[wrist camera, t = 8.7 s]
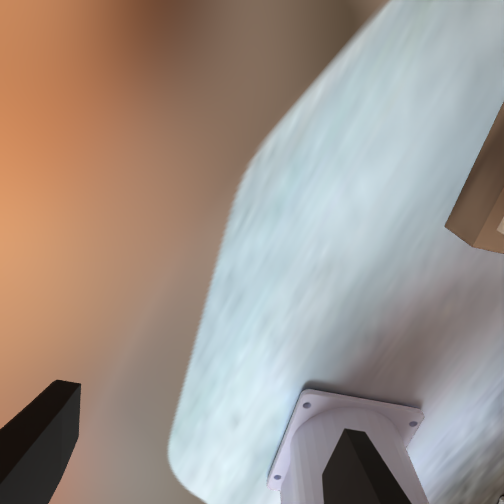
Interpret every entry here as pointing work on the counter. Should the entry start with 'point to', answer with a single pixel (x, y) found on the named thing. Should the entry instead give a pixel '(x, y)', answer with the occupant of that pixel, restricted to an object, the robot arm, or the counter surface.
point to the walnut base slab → (483, 195)
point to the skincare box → (501, 500)
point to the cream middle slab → (501, 226)
